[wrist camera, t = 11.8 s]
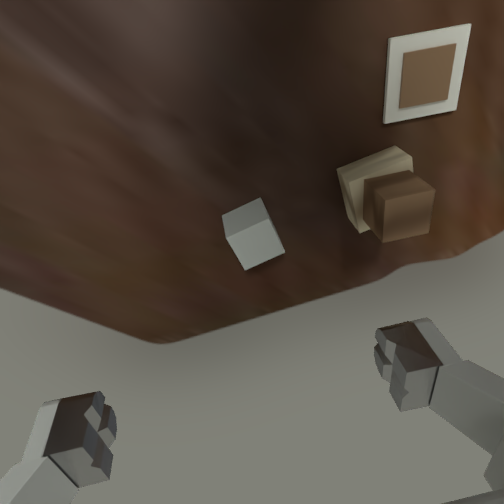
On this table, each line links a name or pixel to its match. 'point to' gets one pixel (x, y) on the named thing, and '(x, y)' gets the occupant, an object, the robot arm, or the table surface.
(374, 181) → the walnut cube
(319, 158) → the table surface
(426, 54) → the swatch
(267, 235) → the grey cube
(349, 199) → the oak base block
